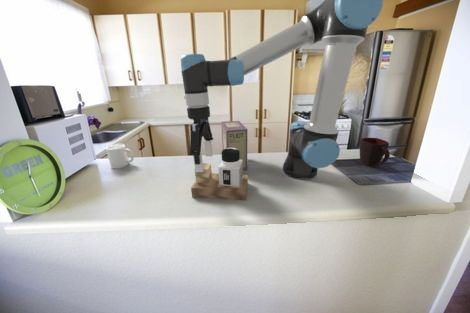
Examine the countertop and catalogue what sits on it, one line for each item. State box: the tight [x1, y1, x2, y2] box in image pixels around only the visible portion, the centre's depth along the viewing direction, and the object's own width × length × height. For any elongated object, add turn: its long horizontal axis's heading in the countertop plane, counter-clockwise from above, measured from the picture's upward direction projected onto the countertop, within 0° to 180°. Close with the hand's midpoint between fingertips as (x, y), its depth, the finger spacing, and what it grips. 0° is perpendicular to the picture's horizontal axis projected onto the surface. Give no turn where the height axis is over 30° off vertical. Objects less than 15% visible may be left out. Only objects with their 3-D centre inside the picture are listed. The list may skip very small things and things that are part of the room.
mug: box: [359, 137, 391, 168], centre depth 94 cm, size 10×14×12 cm
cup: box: [105, 143, 134, 169], centre depth 100 cm, size 8×12×10 cm
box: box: [220, 120, 248, 172], centre depth 97 cm, size 17×9×20 cm, turn 11°
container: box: [217, 148, 244, 187], centre depth 75 cm, size 8×8×13 cm
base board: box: [190, 173, 249, 201], centre depth 78 cm, size 20×12×4 cm, turn 83°
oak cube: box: [194, 162, 213, 184], centre depth 77 cm, size 5×5×6 cm
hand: (204, 163), depth 76 cm, fingers open, 13 cm apart
